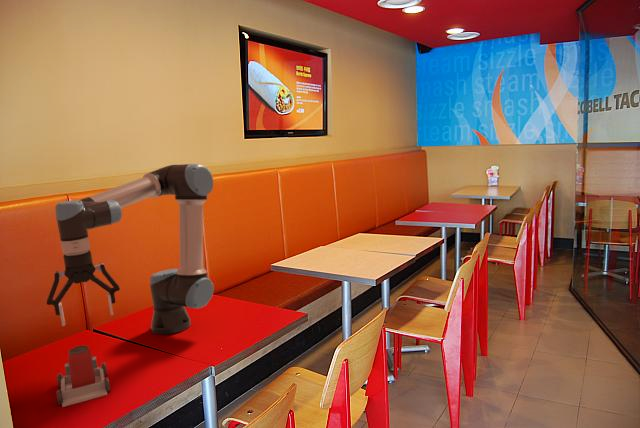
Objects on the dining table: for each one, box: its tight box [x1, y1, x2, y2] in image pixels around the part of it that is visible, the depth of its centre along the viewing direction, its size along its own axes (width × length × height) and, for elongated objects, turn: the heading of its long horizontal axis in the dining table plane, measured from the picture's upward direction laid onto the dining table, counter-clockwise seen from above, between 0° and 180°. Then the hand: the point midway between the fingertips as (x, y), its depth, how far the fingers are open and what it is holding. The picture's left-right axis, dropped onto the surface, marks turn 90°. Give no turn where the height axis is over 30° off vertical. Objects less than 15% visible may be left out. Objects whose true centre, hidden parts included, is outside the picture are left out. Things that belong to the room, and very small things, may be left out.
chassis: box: [56, 356, 111, 408], centre depth 152 cm, size 17×14×6 cm
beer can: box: [67, 345, 95, 389], centre depth 152 cm, size 7×7×12 cm
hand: (88, 319), depth 153 cm, fingers open, 13 cm apart
